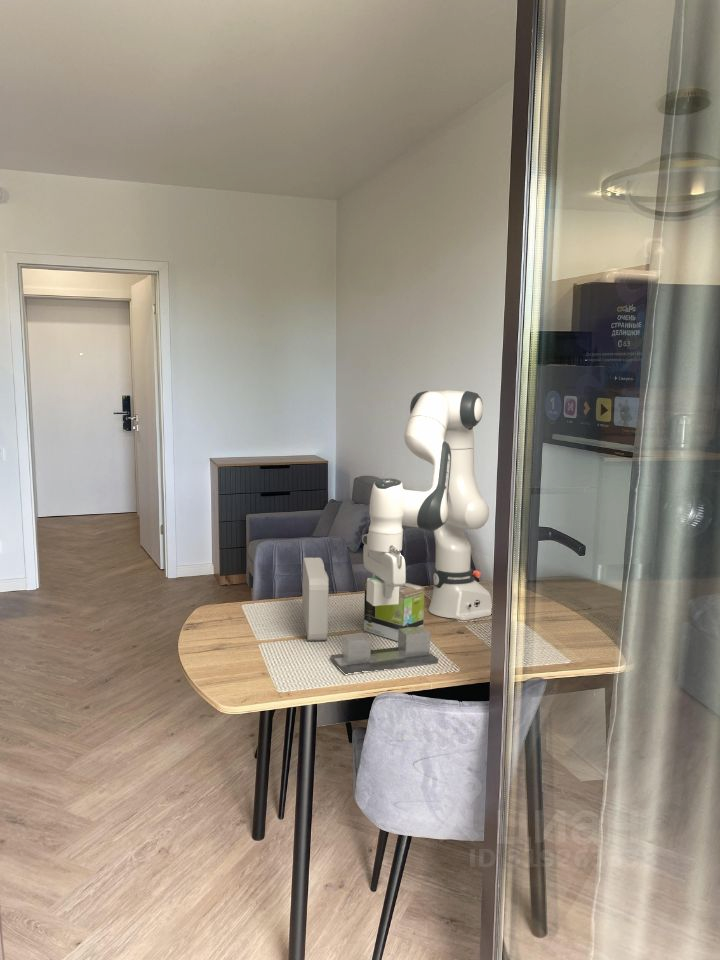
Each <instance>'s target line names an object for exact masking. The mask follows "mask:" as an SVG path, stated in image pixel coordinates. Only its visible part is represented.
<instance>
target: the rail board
mask: <svg viewBox="0 0 720 960" xmlns="http://www.w3.org/2000/svg"><path fill="white" fill-rule="evenodd" d="M371 645H372V639H371V638H370V637H369V636H368V635H367V634H366V633H365V632H356V633H349V634H342V635H341V653H337V654H330V659H331V660H332V661H333V662H334V663H335V664H336V665H337V666H338V667H339V668H340V669H341V670H342V671H343V672H344V673H345V674H348V673H354V672H362V671H375V670H382V671H385V670H384V669H390V670H396V669H403V668H412V667H419V666H427V665H433V664H438V663H439V658H438V656H436V655H434V654H433V652H432V651H431V631H430V630H429V629H427V628H426V627H424V625H423V626H419V627H410V628H401V629H398V641H397V646H395V647H388V648H378V649H371V648H372V647H371ZM330 659H329V660H330ZM331 660H330V661H331ZM332 661H331V662H332ZM333 662H332V663H333ZM334 663H333V664H334ZM335 664H334V665H335ZM336 665H335V666H336ZM337 666H336V667H337ZM338 667H337V668H338ZM339 668H338V669H339ZM375 672H376V671H375Z"/></svg>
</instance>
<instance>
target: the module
mask: <svg viewBox="0 0 720 960" xmlns="http://www.w3.org/2000/svg"><path fill="white" fill-rule="evenodd" d="M366 583H367V597H366V601H368V602H369V603H370V604H371V605H373V606H381V605H394V604H399V586H398V587H394V589H393V592H392V598H391V599H386V598H385V597H384V591H385V589H386V585H385V581H383V580H382V579H380V578H379V577H375V578H373V577H367V580H366Z"/></svg>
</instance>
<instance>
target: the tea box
mask: <svg viewBox="0 0 720 960" xmlns="http://www.w3.org/2000/svg"><path fill="white" fill-rule="evenodd" d="M366 597H367V582H365V583H364V601H363V602H364V605H363V607H364V609H363V613H364V615H363V631H364V632H366V633H367V632H368V633H369V634H374V635H377V636H380V637H383V638H386V639H389V640H392V641H395V642H398V629H401V628H410V627H419V626H423V627H424V618H425V617H424V616H425V613H424V612H425V611H424V610H425V586H422V585H418V584H414V583H410V582H406V581H405V584H404V586H399V604H394V605H381V606H373V605H371V604H370V603H369V602H368V601H366Z"/></svg>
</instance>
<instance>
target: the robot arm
mask: <svg viewBox="0 0 720 960" xmlns="http://www.w3.org/2000/svg"><path fill="white" fill-rule="evenodd" d="M483 403H484V402H483V400H482V397H481V396H480V394H479V393H477V392H474V391H471V390H466V391H461V390H452V389H445V390H434V391H428V390H426V391H425V390H424V391H421V392H418V393H417V392H416V394H415V395H414V396H413V397H412V398H411V401H410V405H409V406H410V407H409V413H410V415H409V417H408V420H407V422H406V426H405V429H404V434H403V435H404V437H403V439H404V442H405V445H406V448H408V450H409V451H410V452H411V453H412V454H414V455H415V456H416V457H418V458H420V459H422V460H423V461H426V462H428V463H430V464H431V465H432V466H433V468H432V469H433V470H432V478H431V488H430V489H428V490H426V491H422V490H421V491H420V490H412V489H411V490H410V489H405V488H404V487H403V482H402V481H401V480H399V479H396V478H382V479H378V480H376V481H375V482H373V485H372V488H371V493H370V499H369V513H368V514H369V519H370V523H369V526H368V533H366V534H363V535H362V541H361V542H362V544H364V545H363V548H362V549H363V552H362V553H363V558H362V559H363V560H362V561H363V567H364V569H365V570H367V571H369V572H370V573H372V578H375V577H379V578H380V579H382V580H383V581H385V585H386V589H385V591H384V597H385V598H386V599H391V598H392V592H393V589H394V587H398V586H404V584H405V582H406V580H407V579H406V578H407V577H406V575H407V573H406V572H407V571H406V560H405V557H404V556H403V555H402V554H401V551H402V550H403V539H404V538H403V536H404V529H403V527H410V528H419V529H422V530H426V531H430V532H433V536H434V542H435V564H434V565H435V566H434V568H433V589H432V594H431V595H432V596H431V601H430V604H429V606H428V612H429V613H431V614H432V615H434V616H438V617H443V618H448V619H455V620H459V621H468V620H474V619H479V618H483V617H488V616H492V615H491V608H492V604H493V603H492V602H493V600H492V596H491V593H490V592H489V590H488V589H487V588H485V587H484V586H483V585H482V584H480V583H479V582H478V581H477V580H476V579H475V578H477V579H479V578H481V576H482V572H481V571H478V570H477V569H476V570H474V569H472V568H471V558H472V557H471V556H472V546H471V543H470V541H469V540H468V538H467V536H466V533H465V532H464V530H479V529H482V527H484V526H485V525H486V523H487V522H488V520H489V518H490V517H489V516H490V508H489V505H488V503H487V502H486V501H485V499H484V498H483V497H482V495H481V492H480V489H479V487H478V484H477V483H478V482H477V479H476V475H475V437H474V428H475V427H476V426H477V425H478V424H479V423H480V422H481V420H482V418H483V413H484V404H483Z"/></svg>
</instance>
